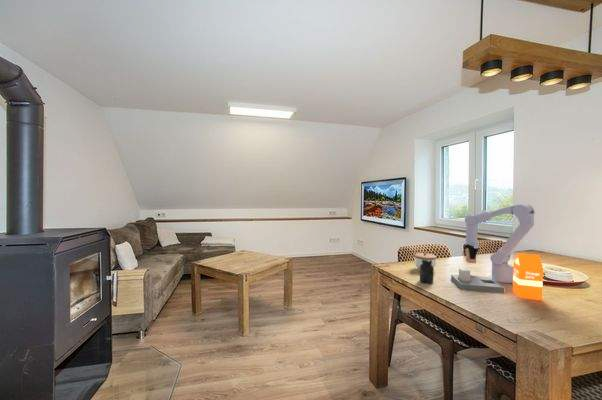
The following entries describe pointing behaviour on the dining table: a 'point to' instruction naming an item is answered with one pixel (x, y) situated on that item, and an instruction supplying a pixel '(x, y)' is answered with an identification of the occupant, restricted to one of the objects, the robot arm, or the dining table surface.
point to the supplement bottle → (426, 271)
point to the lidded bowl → (420, 256)
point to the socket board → (475, 282)
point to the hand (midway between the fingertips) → (471, 257)
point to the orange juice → (528, 276)
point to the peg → (469, 257)
